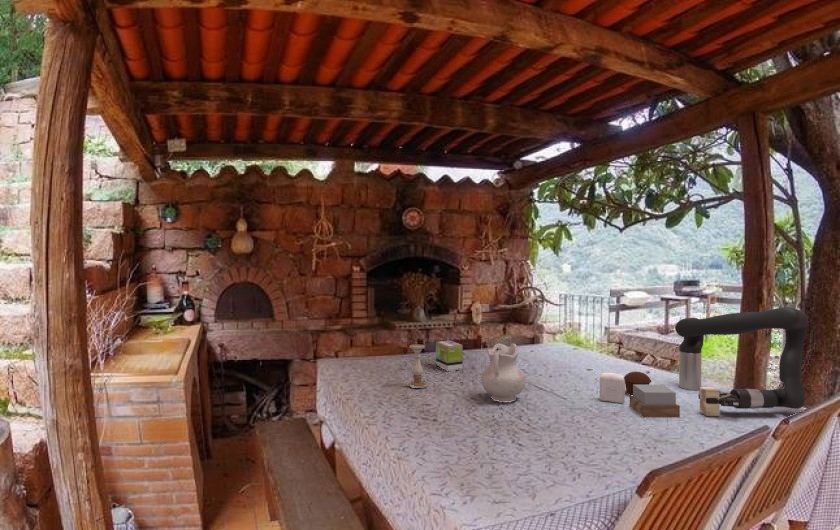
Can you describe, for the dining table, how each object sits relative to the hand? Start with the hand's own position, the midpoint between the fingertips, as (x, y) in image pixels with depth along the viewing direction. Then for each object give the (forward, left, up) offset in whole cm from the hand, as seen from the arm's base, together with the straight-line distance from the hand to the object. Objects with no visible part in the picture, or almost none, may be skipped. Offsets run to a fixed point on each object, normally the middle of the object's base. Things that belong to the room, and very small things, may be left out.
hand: (702, 398), depth 197 cm
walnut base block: (-4, -17, -7) cm, 19 cm away
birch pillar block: (0, +3, -6) cm, 7 cm away
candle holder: (-41, -115, -7) cm, 123 cm away
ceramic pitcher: (-20, -76, -7) cm, 79 cm away
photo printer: (-18, -29, -7) cm, 35 cm away
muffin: (-29, -14, -7) cm, 33 cm away
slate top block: (-4, -17, -2) cm, 18 cm away
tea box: (-80, -99, -7) cm, 128 cm away
